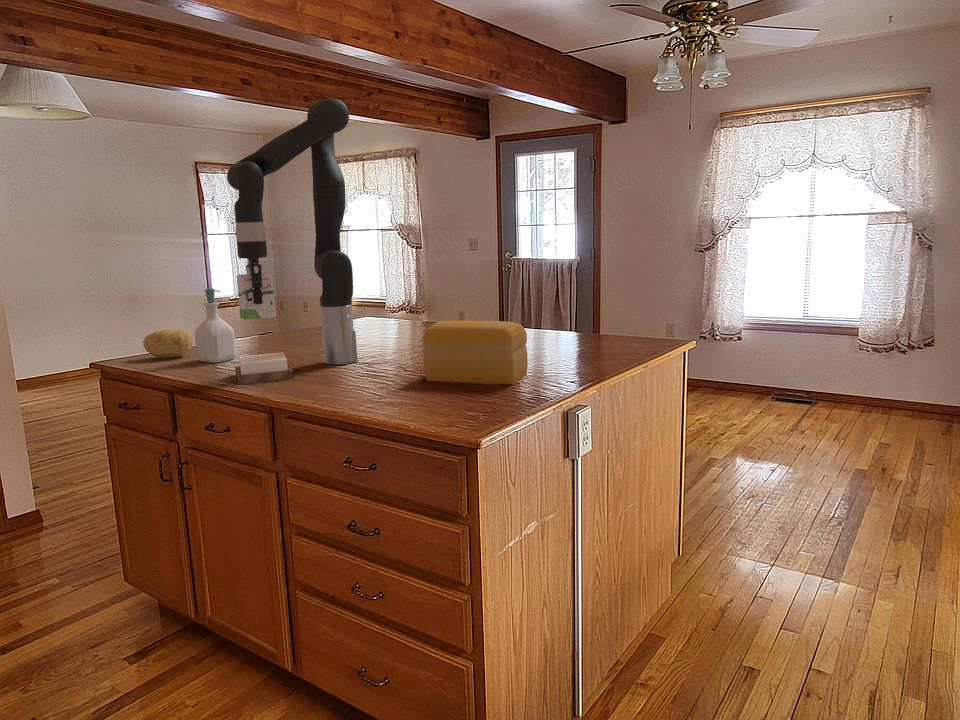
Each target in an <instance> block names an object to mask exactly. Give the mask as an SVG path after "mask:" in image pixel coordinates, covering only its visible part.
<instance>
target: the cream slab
mask: <svg viewBox="0 0 960 720" xmlns="http://www.w3.org/2000/svg"><path fill="white" fill-rule="evenodd" d="M287 364H288V359H287V357H286V355H285V352H272V353H262V354H260V353H259V354H252V355H251V354H250V355H242V356H241V355H240V356H239V367H240V368H241V375H247V374H257V373H266V372H276V371H286V370H288V367H287Z"/></svg>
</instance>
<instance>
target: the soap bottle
mask: <svg viewBox="0 0 960 720" xmlns="http://www.w3.org/2000/svg"><path fill="white" fill-rule="evenodd" d="M204 292H205V296H206V299H207V301H208V302H204V303H203V306H205V309H206V317H205V319H204V320H203V321H202V322H201V323H200V324H199V326H198V327H197V328H196V330H195V332H194V341H195V342H194V343H195V350H196V358H197V359H198V360H199V362H203V363H209V364H211V363H212V364H217V363H222V362H228V361H232V360H234V359H236V357H237V355H238V354H237V343H236V335H235V331H234V329H233V328H232V326H231V325H230V324H229V323H227V322H226V321H225V320H224V319H223V318H221V317H220V315H219V312H218V310H219V309H218V306H219V305H220V302H219V301H217V302H216V301H214V300H215V295H216V294H215V292H218V293H221V292H222V291H220V290H217V289H216V290H215V288H205V289H204Z"/></svg>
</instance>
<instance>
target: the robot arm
mask: <svg viewBox="0 0 960 720" xmlns="http://www.w3.org/2000/svg"><path fill="white" fill-rule="evenodd" d="M306 115H307V116H306V118H307V119H306V120H305V121H303V122H302V123H300V124H298V125H296V126H295V127H293V128H290V129H289V130H287V131H285V132H283V133H280V134H279V135H277V136H276V137H274V138H272V139H271V140H269V142H267V143H265V144H264V145H263V146H261V147H260V148H259V149H257V150H256V151H255V152H253V153H251V154H250V155H248V156H245V157H243V158H242V159H240V160H239V161H236V162H235V163H234V164H232V165H231V166H230V167H229V168H228V171H227V173H226V179H227V183H228V184H229V186H230V187H232V188H233V189H234V190H237V191H238V199H237V201H235V202H234V204H233V207H234V219H235V238H236V239H235V240H236V249H237V257H238V258H239V259H247V264H246V265H245V271H246V274H248V275H249V281H250V282H251V283H252V290H253V299H254V304H262V303H263V301H262V286H263V284H262V280H263V277H262V273H263V264H260V262H259V259H260V258H267V257H268V248H267V236H266V229H265V225H264V215H263V206H262V205H263V199H264V190H265V176H268V175H270V174H273V173H276V172H277V171H279V170H280V169H281V168H283V167H285V166H286V165H287V164H288V163H290V162H291V161H292V160H293V159H295V158H296V157H298V156H299V155H300V154H302V153H304V151H306V150H307V149H309V148H310V149H311V151H310V153H311V170H312V171H311V172H312V174H311V175H312V199H313V200H312V201H313V213H314V215H313V217H314V225H315V226H314V228H315V229H314V230H315V243H314V244H315V246H314V258H313V263H314V264H313V265H314V266H313V267H314V268H313V269H314V270H315V273H316V275H317V277H319V278H320V279H321V284H322V291H321V295H320V296H319V305H320V306H319V307H320V318H321V328H322V329H321V331H322V332H321V333H322V343H323V345H322V346H323V355H324V356H323V358H324V364H326V365H333V366H335V365H337V366H339V365H347V364H352V363H355V362H356V363H357V362H359V361H358V349H357V336H356V335H357V334H356V330H355V329H354V314H353V305H352V304H353V295H354V277H353V276H354V274H353V266H352V262H351V259H350V257H349V256H348V255H347V254H346V253H345V252H343V251H342V250H341V230H342V223H343V220H344V216H345V211H346V203H347V201H346V198H347V197H346V183H345V177H344V174H343V172H342V169H341V168H340V164H339V163H338V160H337V158H336V154H335V134H336V133H339V132H342V131H343V130H344V129H345V128H346V127H347V125H348V124H349V120H350V111H349V109H348V106H347V105H346V104H345V102H343V101H342V100H340V99H337V98H334V97H333V98H330V97H329V98H326V99H322V100H319V101H316V102H313V103H312V104H310V106H309V108H308V109H307V114H306ZM251 276H252V278H251ZM254 282H259V283H255V284H254Z"/></svg>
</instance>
